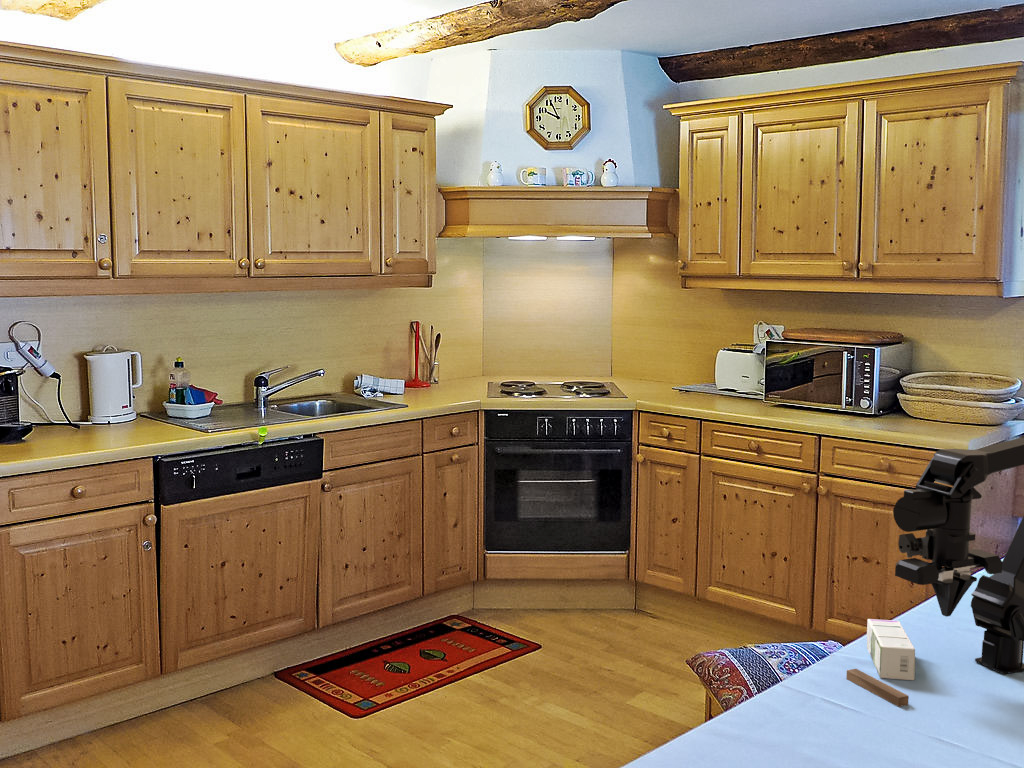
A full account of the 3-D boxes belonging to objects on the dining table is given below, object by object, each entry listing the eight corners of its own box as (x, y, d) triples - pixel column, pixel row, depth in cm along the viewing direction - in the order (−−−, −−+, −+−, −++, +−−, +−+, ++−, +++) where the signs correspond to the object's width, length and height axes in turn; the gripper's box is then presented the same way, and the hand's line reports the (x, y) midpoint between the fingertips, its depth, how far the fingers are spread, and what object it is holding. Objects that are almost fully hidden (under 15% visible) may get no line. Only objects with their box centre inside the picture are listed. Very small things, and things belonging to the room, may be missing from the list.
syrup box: (916, 648, 175) (901, 619, 189) (879, 646, 176) (867, 617, 190) (914, 681, 175) (899, 650, 189) (878, 678, 176) (865, 647, 190)
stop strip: (855, 677, 177) (856, 668, 177) (908, 704, 166) (908, 695, 166) (846, 678, 176) (846, 670, 176) (898, 706, 165) (899, 697, 165)
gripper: (955, 510, 185) (950, 594, 186) (873, 519, 177) (869, 608, 179) (1007, 524, 174) (1001, 614, 176) (923, 535, 167) (918, 629, 169)
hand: (946, 615), depth 175 cm, fingers closed
